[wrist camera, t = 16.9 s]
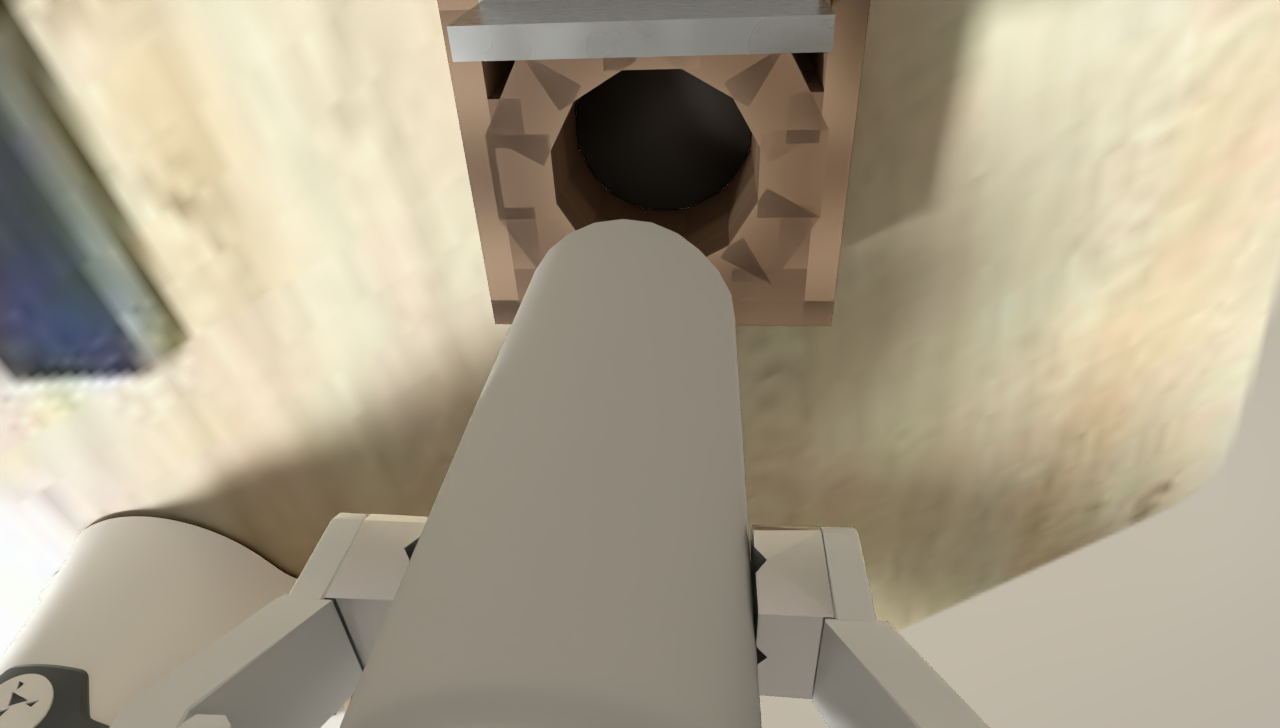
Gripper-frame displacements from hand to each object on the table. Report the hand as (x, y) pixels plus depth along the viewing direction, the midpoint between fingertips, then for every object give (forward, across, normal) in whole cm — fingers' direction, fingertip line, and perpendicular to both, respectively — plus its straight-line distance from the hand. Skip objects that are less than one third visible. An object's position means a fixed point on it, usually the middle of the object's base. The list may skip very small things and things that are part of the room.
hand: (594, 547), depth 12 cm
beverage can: (+8, 0, 0) cm, 8 cm away
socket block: (+20, 0, -3) cm, 20 cm away
